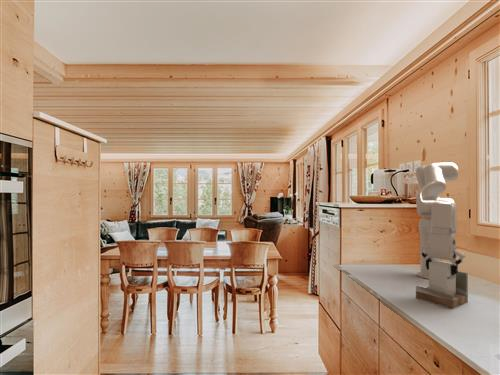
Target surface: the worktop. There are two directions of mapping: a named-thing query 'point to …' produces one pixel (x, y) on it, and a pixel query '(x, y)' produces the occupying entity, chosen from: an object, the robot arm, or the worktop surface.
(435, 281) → the supplement box
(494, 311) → the worktop surface
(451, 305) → the wall shelf
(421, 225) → the robot arm
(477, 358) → the worktop surface
